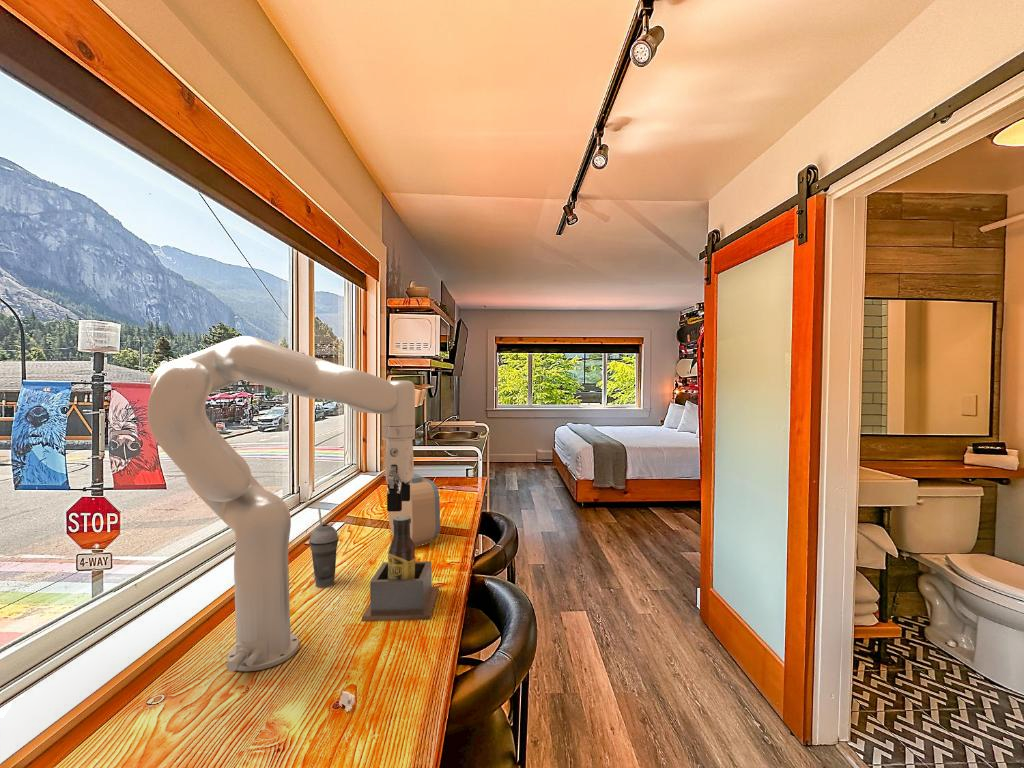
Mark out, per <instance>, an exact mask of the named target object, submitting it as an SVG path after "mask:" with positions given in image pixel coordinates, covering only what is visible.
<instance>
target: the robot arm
mask: <svg viewBox="0 0 1024 768" xmlns="http://www.w3.org/2000/svg"><path fill="white" fill-rule="evenodd" d="M239 381H245V382H246V381H247V382H250V383H253V384H257V385H261V386H264V387H268V388H271V389H275V390H278V391H280V392H281V391H282V392H285V393H288V394H292V395H295V396H298V397H304V398H307V399H312V400H313V399H314V400H322V401H323V400H324V401H331V402H335V403H339V404H340V403H341V404H345V405H347V406H348V407H349V408H351V409H352V411H356V412H358V413H364V414H376V415H381V417H382V418H381V420H382V421H381V422H382V424H381V427H382V428H381V429H382V434H381V435H382V436H381V437H382V438H381V439H382V441H386V443H385V444H386V445H385V482H386V483H387V486H386V488H387V490H386V510H387V511H386V512H388V511H389V512H390V511H401V510H402V501H409V500H410V480H411V479H412V478H413V476H414V474H415V467H414V466H415V465H414V460H415V459H414V443H413V440H415V439H416V388H415V387H416V386H415V384H414V382H413V381H411V380H403V379H402V380H401V379H400V380H396V379H395V380H394V379H393V380H387V379H385V378H382V377H379V376H377V375H375V374H371V373H368V372H365V371H362V370H359V369H355V368H352V367H349V366H346V365H341V364H338V363H335V362H332V361H329V360H326V359H322V358H318V357H315V356H312V355H308V354H305V353H302V352H300V351H297V350H293V349H290V348H288V347H284V346H282V345H279V344H276V343H274V342H270V341H269V340H268V341H267V340H264V339H263V338H262V339H261V338H259V337H254V336H251V335H241V336H236V337H233V338H229V339H227V340H224V341H221V342H218V343H217V344H215V345H212V346H209V347H208V348H205V349H202V350H200V351H199V350H198V351H196V352H193V353H190V354H188V355H185V356H182V357H180V358H175V359H174V360H171V361H168V362H165V363H163V364H161V365H160V366H158V367H157V368H156V369H155V370H154V371H153V373H152V375H151V377H150V385H149V386H150V390H151V392H150V394H149V398H148V402H147V411H146V412H147V413H146V416H147V417H146V418H147V423H148V427H149V428H148V429H149V430H150V432H151V434H152V436H153V439H154V440H155V441H156V443H157V444H158V446H159V447H160V448H161V449H162V451H164V453H165V454H166V455H167V456H168V457H169V459H171V461H172V462H173V463H174V464H175V465H176V467H177V468H178V469H179V470H180V471H181V472H182V473H183V474H184V475H185V479H186V481H187V484H188V485H189V487H190V488H191V489H192V490H193V491H194V492H195V493H196V495H197V496H198V497H199V498H200V499H201V500H202V501H203V502H204V503H205V504H206V505H207V506H208V507H209V508H210V509H211V510H212V511H213V512H214V513H215V514H216V515H217V517H219V518H220V519H221V520H222V521H223V522H224V524H226V526H227V527H229V528H230V530H232V531H233V532H234V533H235V547H234V558H233V578H234V579H233V581H234V608H235V609H234V610H235V612H234V613H235V645H234V647H232V649H230V651H229V652H228V654H227V655H226V657H227V659H226V670H227V671H229V672H230V673H231V672H235V671H238V672H255V671H262V670H266V669H269V668H272V667H275V666H277V665H280V664H282V663H284V662H286V661H288V659H290V658H292V656H294V655H295V654H296V653H297V652H298V650H299V648H300V640H299V637H298V636H297V635H296V634H294V633H291V610H290V609H291V606H290V605H291V603H290V570H289V545H290V537H291V535H290V534H291V527H292V526H291V525H292V520H291V519H292V517H291V513H290V509H289V507H288V505H287V503H286V502H285V501H284V500H283V498H281V497H280V496H278V494H277V495H276V494H275V493H272V492H271V491H269V490H268V489H267V490H266V489H265V488H264V487H263V486H262V485H261V484H260V483H259V481H257V479H255V477H254V476H253V475H252V473H251V472H252V471H251V469H250V466H249V464H248V463H247V461H246V459H244V457H243V456H242V455H240V454H239V453H238V452H237V451H236V450H235V449H234V448H233V447H232V446H231V445H230V443H228V441H227V440H226V439H225V438H224V437H223V435H222V434H221V433H220V432H219V431H218V429H217V428H216V427H215V426H214V425H213V423H212V422H211V420H210V419H209V417H208V415H207V412H206V405H207V404H206V403H207V400H208V398H209V397H210V394H212V393H215V392H217V391H219V390H222V389H223V388H226V387H229V386H231V385H232V384H235V383H237V382H239Z"/></svg>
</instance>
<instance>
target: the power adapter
mask: <svg viewBox="0 0 1024 768" xmlns="http://www.w3.org/2000/svg"><path fill="white" fill-rule="evenodd" d="M339 697H340V699H339V702H338V704H339V707H340V706H341V707H343V705H344V706H345V708H344V710H346V711H347V712H348V711H349V712H351V710H352V708H353V706H352V705H353V704H354V703H355V704H356V699H355V698H356V695H354V694H352V693H350V692H349V691H346V690H345V691H344V690H342V693H341V695H340V696H339ZM342 704H343V705H342ZM341 707H340V708H341ZM349 712H348V713H349Z"/></svg>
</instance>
